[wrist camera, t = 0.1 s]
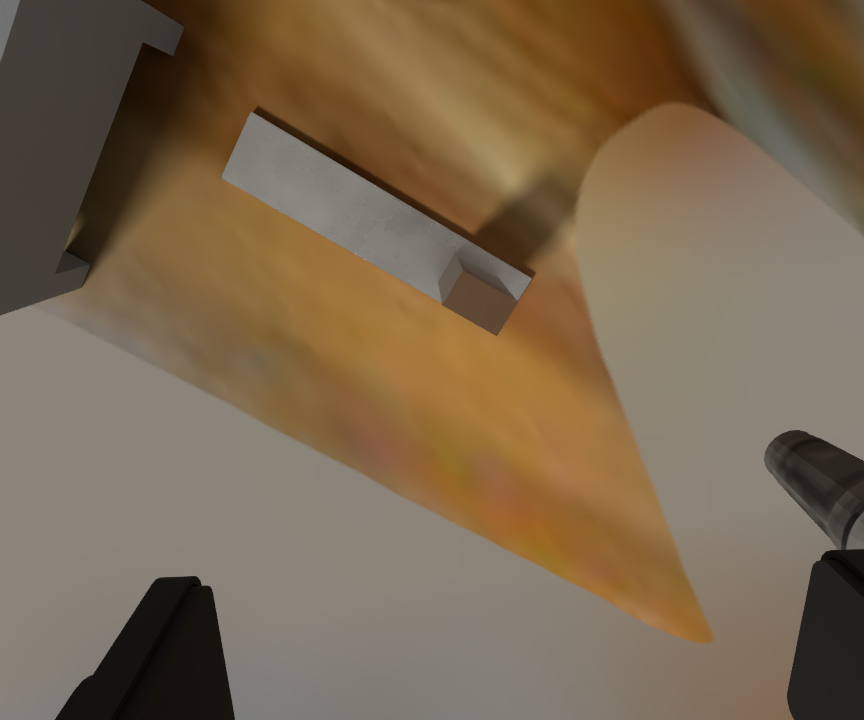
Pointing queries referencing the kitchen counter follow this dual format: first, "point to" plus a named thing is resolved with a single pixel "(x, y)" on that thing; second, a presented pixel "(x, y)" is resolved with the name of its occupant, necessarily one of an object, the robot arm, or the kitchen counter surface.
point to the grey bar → (373, 224)
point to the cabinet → (59, 126)
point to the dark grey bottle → (821, 484)
